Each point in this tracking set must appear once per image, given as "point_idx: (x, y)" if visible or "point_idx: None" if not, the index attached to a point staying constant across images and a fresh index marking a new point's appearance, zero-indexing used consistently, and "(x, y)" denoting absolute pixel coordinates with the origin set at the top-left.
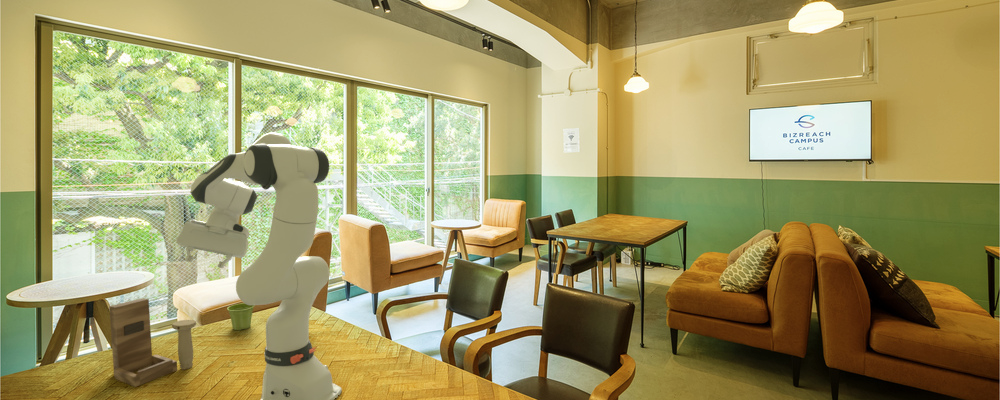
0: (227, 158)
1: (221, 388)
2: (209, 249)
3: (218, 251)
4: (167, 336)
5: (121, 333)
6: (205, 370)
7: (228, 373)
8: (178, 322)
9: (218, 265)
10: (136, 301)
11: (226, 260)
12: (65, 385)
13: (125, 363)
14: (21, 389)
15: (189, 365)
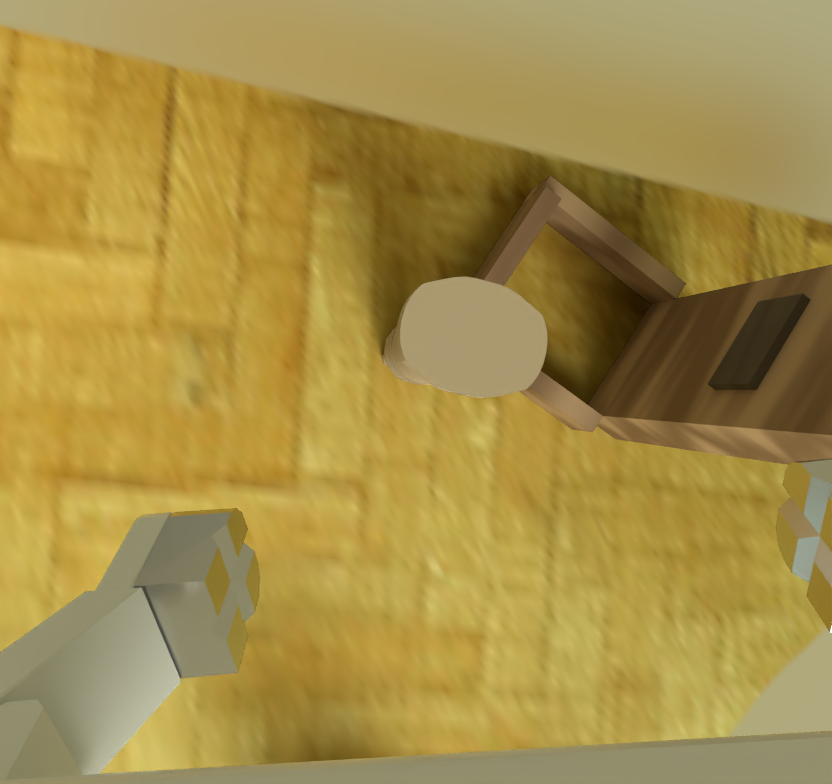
0: None
1: (121, 82)
2: (562, 748)
3: (240, 767)
4: None
5: (785, 292)
6: (295, 305)
7: (156, 247)
8: (517, 348)
9: (224, 512)
10: None
11: (42, 629)
12: (804, 263)
13: (666, 319)
14: None
15: (387, 337)
